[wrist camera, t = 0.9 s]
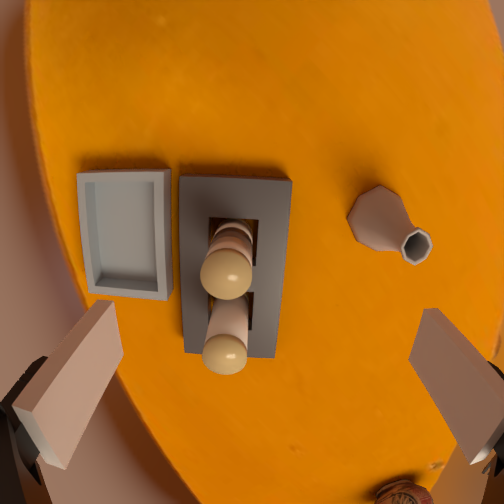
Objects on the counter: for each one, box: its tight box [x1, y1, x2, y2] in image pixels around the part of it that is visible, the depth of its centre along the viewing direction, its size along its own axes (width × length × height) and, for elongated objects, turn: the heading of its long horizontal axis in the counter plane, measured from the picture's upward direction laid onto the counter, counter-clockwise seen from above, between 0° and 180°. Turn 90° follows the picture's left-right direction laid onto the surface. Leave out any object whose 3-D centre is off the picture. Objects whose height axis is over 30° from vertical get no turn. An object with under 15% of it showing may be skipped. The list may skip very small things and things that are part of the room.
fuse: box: [202, 292, 249, 375], centre depth 33 cm, size 4×4×11 cm
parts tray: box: [77, 169, 173, 301], centre depth 34 cm, size 14×10×3 cm
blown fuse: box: [200, 218, 253, 300], centre depth 30 cm, size 4×4×11 cm
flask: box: [347, 185, 433, 265], centre depth 30 cm, size 7×7×10 cm
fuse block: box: [179, 174, 292, 358], centre depth 35 cm, size 21×11×2 cm, turn 177°
